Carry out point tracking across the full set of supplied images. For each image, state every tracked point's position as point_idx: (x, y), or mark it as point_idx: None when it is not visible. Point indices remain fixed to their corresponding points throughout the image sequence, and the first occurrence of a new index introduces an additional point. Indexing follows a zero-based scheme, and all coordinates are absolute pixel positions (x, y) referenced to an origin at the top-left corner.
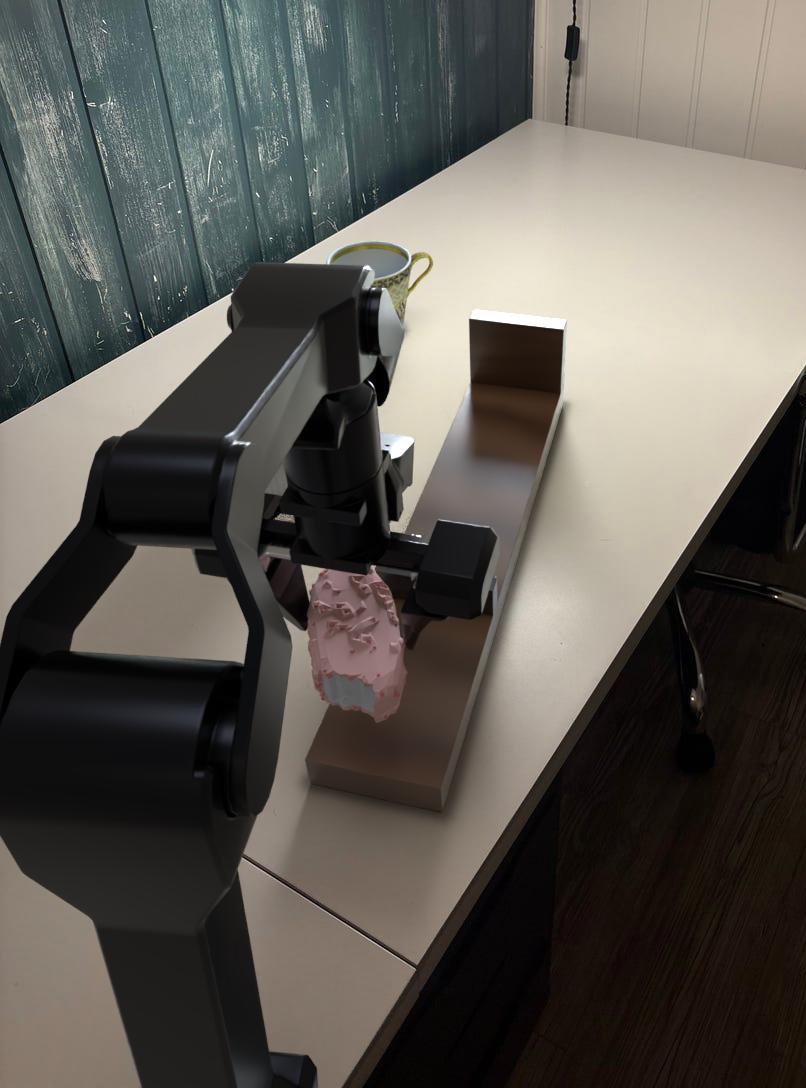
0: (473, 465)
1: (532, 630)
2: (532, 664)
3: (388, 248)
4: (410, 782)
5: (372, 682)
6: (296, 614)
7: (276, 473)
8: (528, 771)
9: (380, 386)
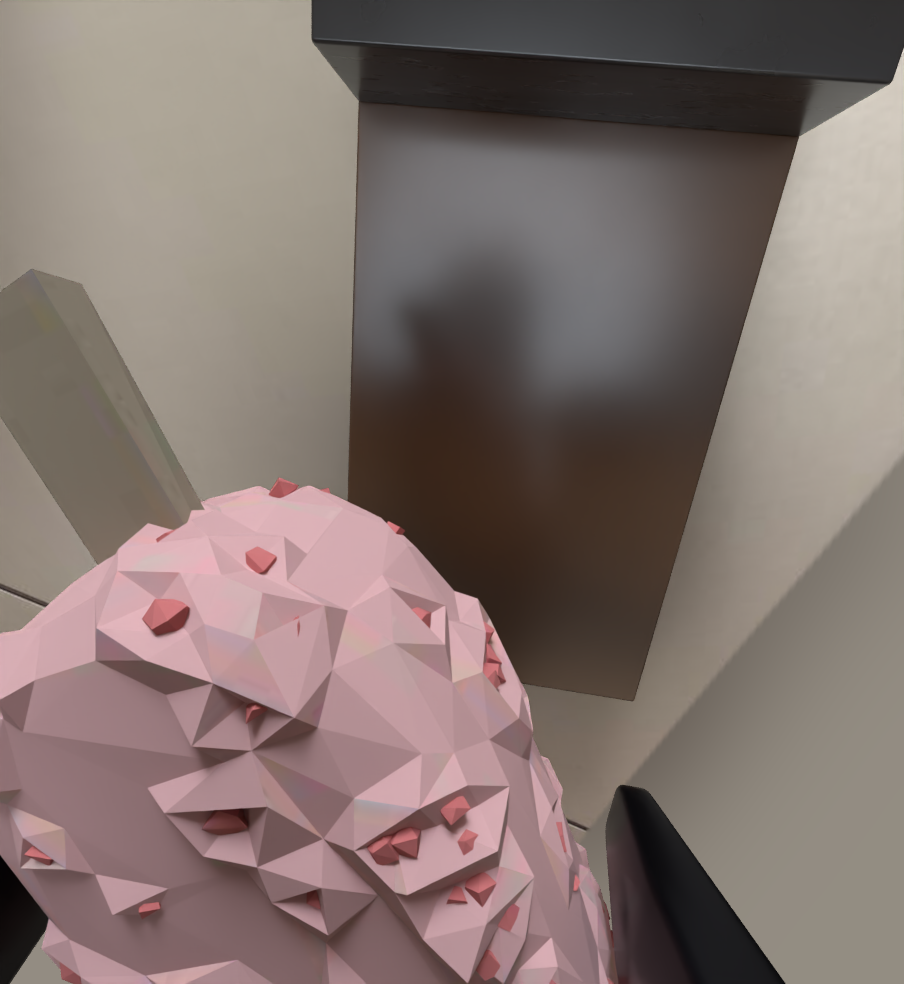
0: None
1: (881, 100)
2: (857, 251)
3: None
4: (568, 690)
5: None
6: (24, 943)
7: None
8: (798, 560)
9: None
